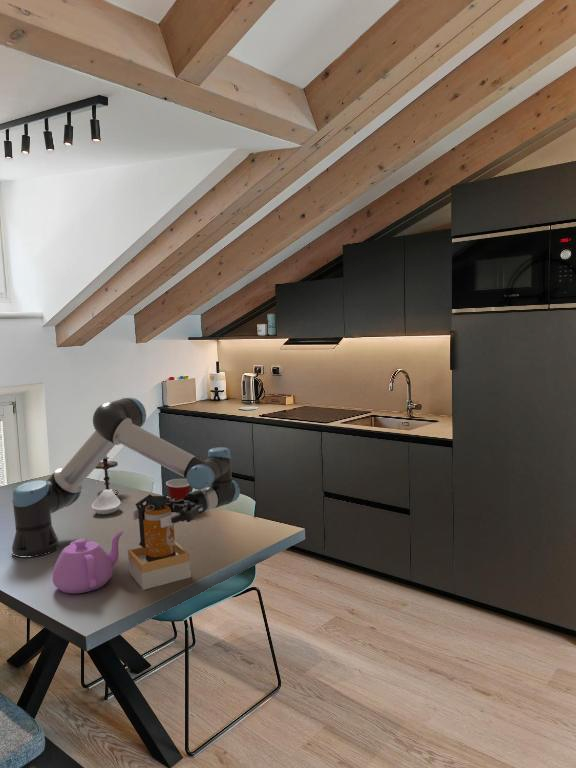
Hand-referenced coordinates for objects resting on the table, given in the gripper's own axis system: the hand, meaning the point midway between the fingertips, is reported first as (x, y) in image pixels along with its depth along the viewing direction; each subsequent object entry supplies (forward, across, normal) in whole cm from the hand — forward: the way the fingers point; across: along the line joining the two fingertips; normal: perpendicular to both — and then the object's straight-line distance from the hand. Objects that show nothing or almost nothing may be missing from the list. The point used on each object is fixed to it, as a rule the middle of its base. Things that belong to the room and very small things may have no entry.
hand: (146, 519), depth 180 cm
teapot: (+12, +13, -19) cm, 26 cm away
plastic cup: (-51, +47, -19) cm, 72 cm away
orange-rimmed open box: (-3, 0, -18) cm, 19 cm away
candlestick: (-49, +97, -19) cm, 110 cm away
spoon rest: (-36, +77, -19) cm, 87 cm away
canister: (-3, 0, -14) cm, 14 cm away
